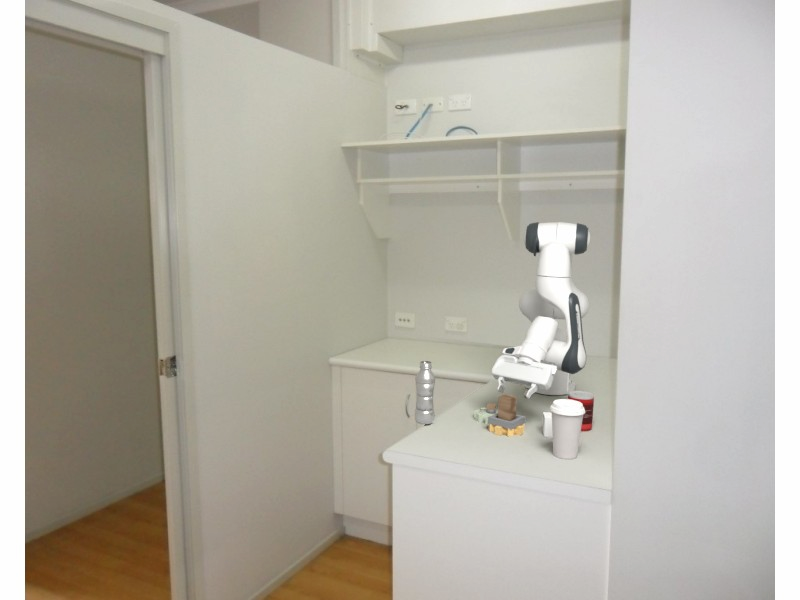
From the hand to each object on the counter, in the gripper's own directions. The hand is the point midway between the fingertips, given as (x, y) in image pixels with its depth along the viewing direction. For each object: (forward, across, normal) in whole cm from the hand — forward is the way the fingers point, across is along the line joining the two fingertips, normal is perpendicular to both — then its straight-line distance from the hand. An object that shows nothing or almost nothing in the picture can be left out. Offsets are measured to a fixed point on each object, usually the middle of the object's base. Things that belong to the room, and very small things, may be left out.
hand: (512, 394), depth 198 cm
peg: (+8, 0, -4) cm, 9 cm away
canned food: (-3, -15, -19) cm, 25 cm away
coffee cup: (+14, -23, -1) cm, 27 cm away
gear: (+6, +10, -10) cm, 15 cm away
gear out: (+10, 0, -6) cm, 11 cm away
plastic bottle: (+19, +23, +3) cm, 30 cm away
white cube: (+5, -12, -11) cm, 17 cm away
